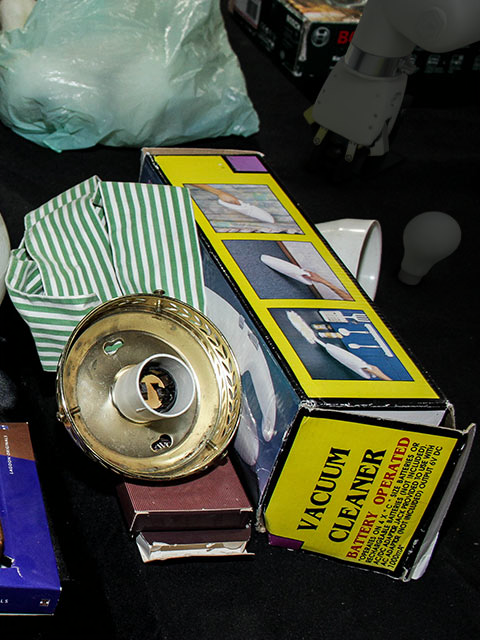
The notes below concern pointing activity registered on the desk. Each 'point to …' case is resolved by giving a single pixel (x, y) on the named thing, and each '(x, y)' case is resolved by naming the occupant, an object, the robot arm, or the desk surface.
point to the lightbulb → (427, 244)
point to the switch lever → (336, 151)
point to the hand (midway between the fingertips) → (327, 172)
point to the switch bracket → (377, 164)
